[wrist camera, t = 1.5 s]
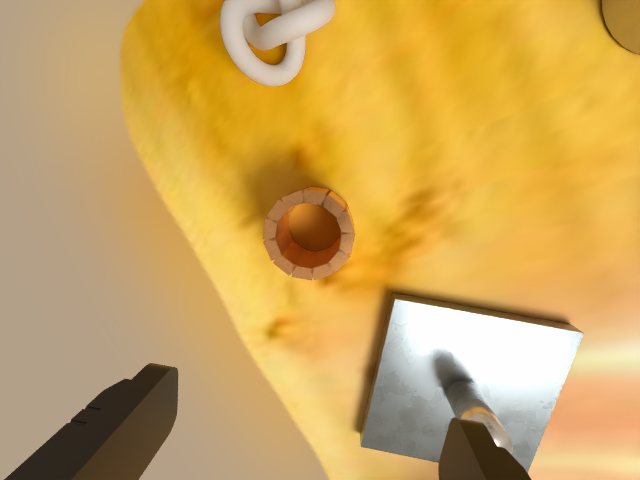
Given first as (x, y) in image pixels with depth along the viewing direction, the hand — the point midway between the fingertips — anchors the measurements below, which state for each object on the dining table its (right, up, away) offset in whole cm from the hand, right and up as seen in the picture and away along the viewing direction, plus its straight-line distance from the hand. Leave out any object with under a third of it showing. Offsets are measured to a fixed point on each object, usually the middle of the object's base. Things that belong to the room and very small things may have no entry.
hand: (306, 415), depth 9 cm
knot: (-3, +21, +15) cm, 26 cm away
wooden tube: (0, +6, +18) cm, 19 cm away
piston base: (+14, -9, +20) cm, 26 cm away
